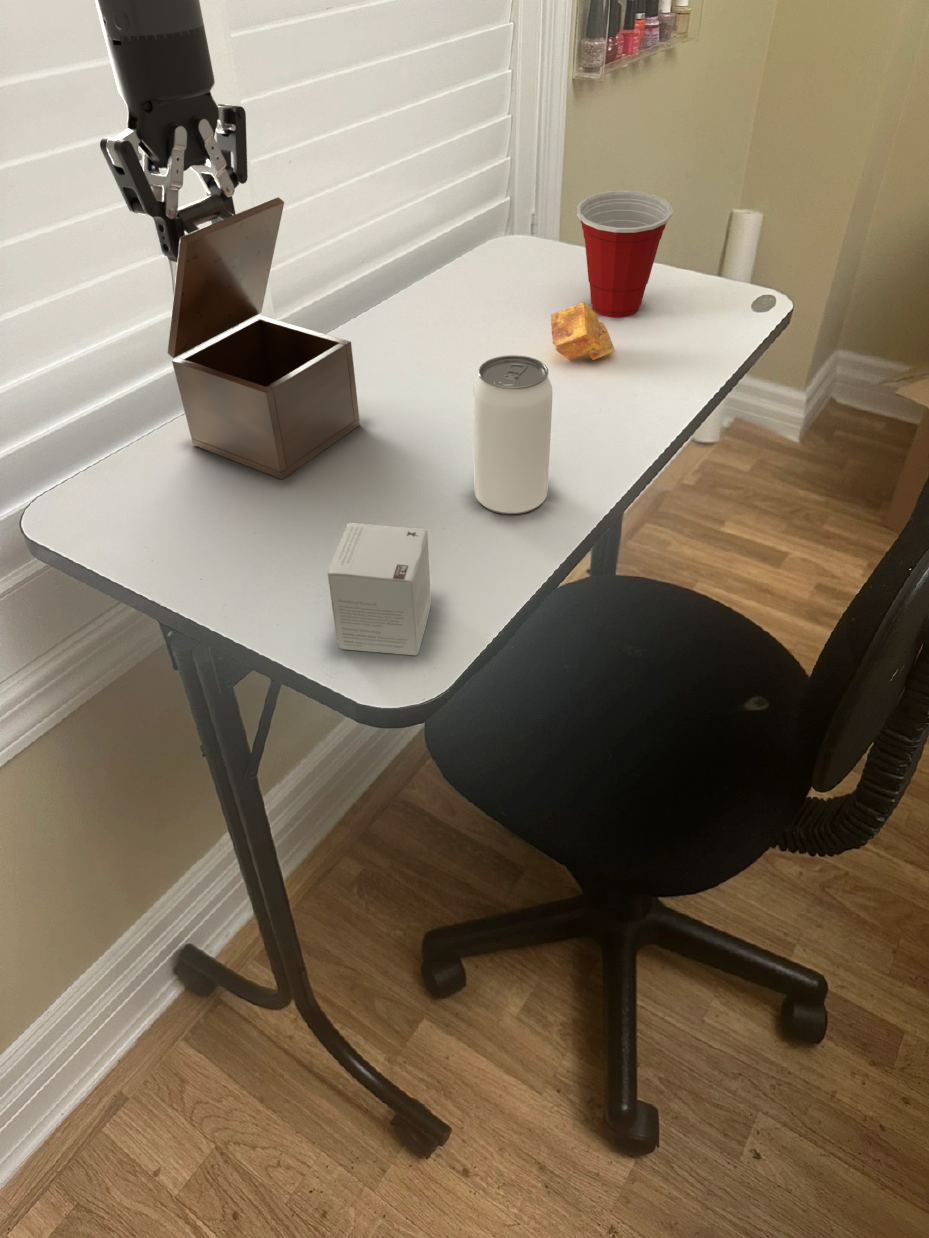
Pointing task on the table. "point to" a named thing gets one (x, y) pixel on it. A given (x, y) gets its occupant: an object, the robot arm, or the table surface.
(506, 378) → the can
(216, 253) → the lid
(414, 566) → the product carton
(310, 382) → the chest
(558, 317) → the pyrite
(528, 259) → the table surface
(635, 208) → the plastic cup
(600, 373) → the table surface
